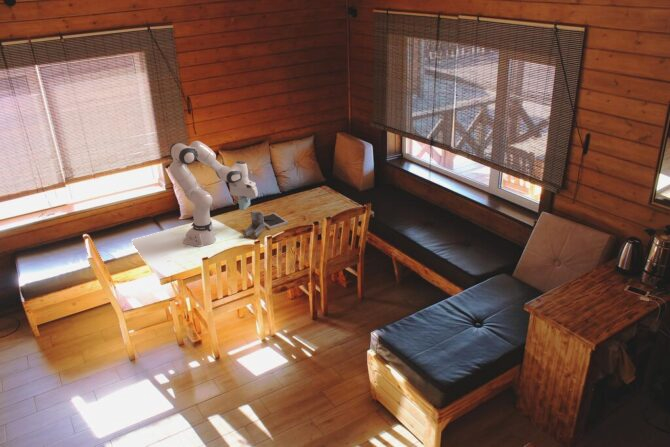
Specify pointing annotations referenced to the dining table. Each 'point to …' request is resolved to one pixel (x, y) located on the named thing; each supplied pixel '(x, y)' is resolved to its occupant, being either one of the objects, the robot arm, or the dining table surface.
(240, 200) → the book
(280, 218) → the picture frame
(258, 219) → the book rack
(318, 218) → the dining table surface
